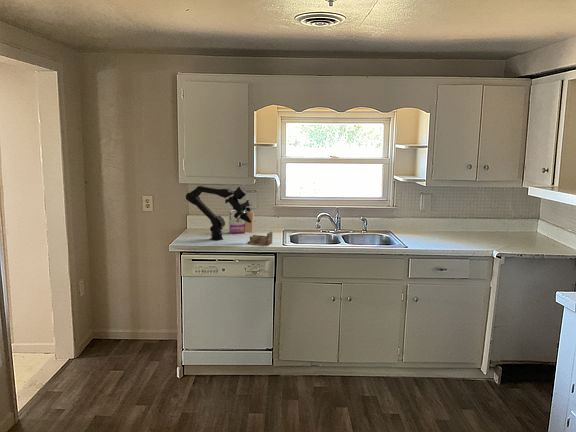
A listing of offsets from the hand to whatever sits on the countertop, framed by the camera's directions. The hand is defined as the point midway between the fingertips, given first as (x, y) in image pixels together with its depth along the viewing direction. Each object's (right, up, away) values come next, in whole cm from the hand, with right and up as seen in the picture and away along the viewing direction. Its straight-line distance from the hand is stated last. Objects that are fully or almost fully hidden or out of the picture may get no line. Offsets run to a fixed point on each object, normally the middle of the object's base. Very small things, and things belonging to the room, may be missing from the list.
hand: (251, 222), depth 309 cm
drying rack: (+6, -14, 0) cm, 15 cm away
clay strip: (-2, -6, +1) cm, 7 cm away
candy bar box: (-13, -8, +32) cm, 36 cm away
